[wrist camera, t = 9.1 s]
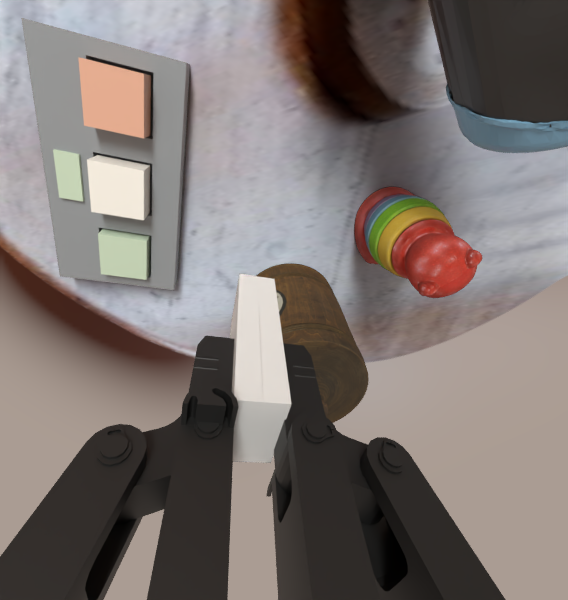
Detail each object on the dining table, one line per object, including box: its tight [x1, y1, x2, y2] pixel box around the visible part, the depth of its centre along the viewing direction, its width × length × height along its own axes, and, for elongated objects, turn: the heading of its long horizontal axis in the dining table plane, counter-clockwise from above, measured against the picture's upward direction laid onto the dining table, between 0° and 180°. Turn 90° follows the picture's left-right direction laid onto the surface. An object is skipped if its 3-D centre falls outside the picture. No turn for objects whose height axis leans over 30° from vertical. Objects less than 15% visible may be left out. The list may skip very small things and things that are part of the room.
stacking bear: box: [355, 187, 482, 298], centre depth 39 cm, size 11×10×18 cm
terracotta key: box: [78, 57, 151, 138], centre depth 32 cm, size 5×5×3 cm
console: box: [22, 18, 190, 290], centre depth 38 cm, size 26×14×3 cm, turn 167°
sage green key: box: [98, 228, 151, 280], centre depth 41 cm, size 5×5×3 cm
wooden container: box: [257, 264, 368, 423], centre depth 43 cm, size 15×15×22 cm
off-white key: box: [87, 155, 150, 220], centre depth 36 cm, size 5×5×3 cm
